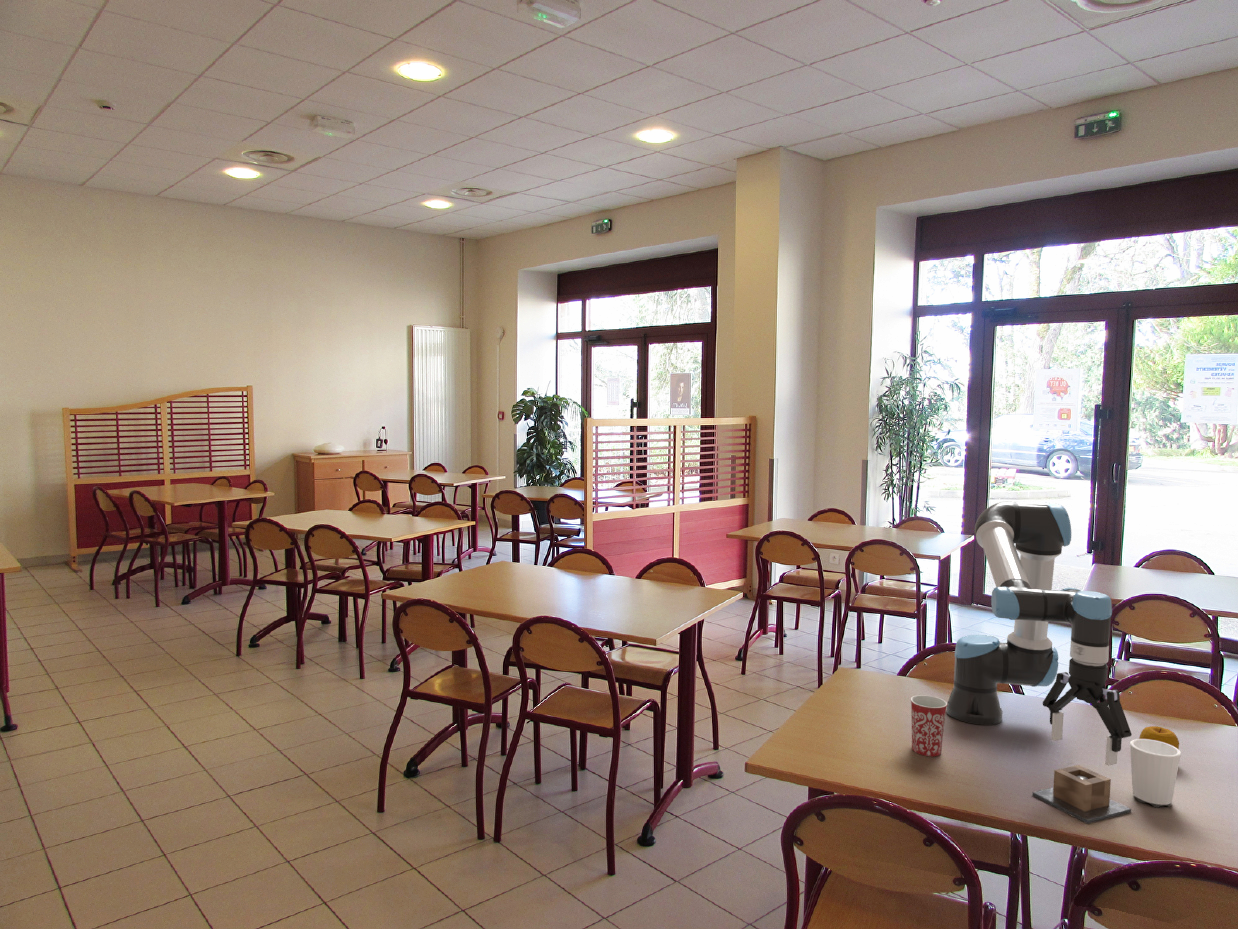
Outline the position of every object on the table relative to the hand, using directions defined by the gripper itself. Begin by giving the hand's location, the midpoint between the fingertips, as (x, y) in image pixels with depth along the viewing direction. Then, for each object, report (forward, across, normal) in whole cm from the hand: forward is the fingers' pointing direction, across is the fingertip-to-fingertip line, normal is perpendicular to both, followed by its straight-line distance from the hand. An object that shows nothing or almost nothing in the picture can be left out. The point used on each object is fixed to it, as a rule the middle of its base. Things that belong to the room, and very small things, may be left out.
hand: (1082, 751), depth 186 cm
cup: (+12, +6, +17) cm, 21 cm away
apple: (+13, -8, +40) cm, 43 cm away
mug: (+13, -36, -11) cm, 40 cm away
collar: (+11, 0, 0) cm, 11 cm away
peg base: (+12, +1, 0) cm, 12 cm away
